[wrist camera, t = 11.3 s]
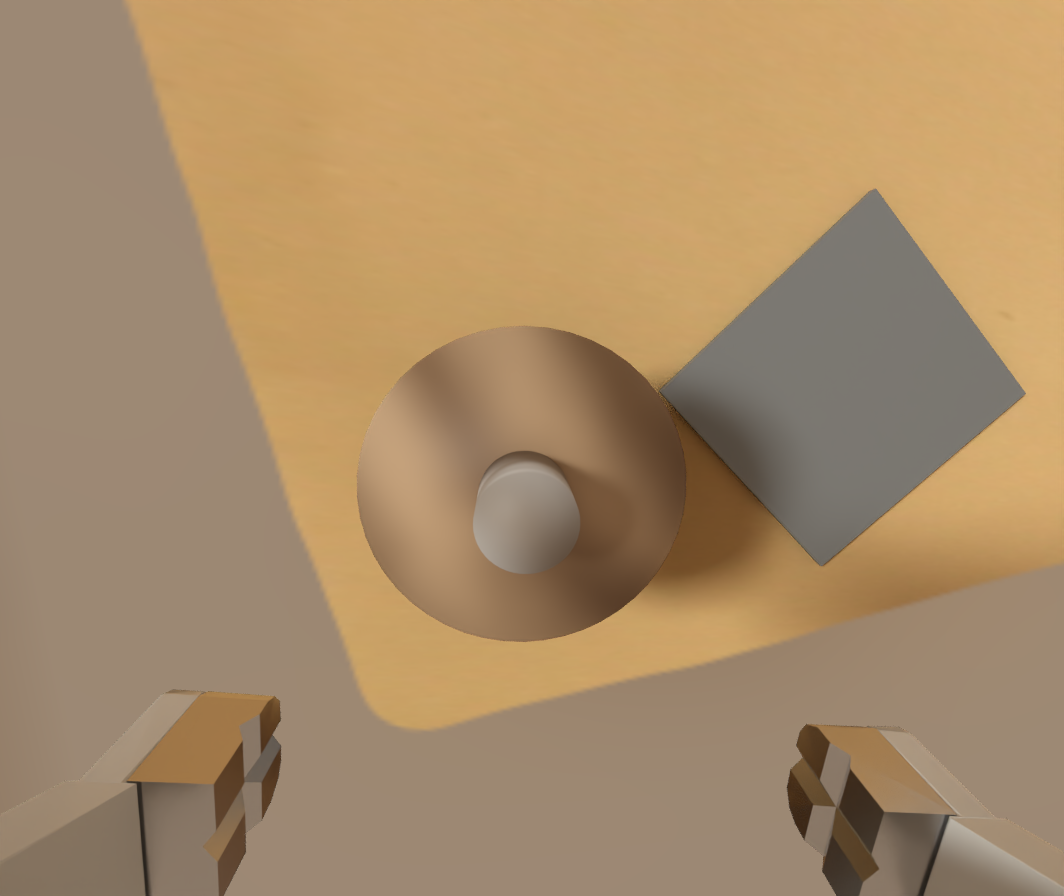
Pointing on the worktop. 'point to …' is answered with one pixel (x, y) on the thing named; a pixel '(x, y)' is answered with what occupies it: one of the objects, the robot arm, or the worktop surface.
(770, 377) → the rubber mat
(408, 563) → the wooden lid
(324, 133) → the worktop surface
